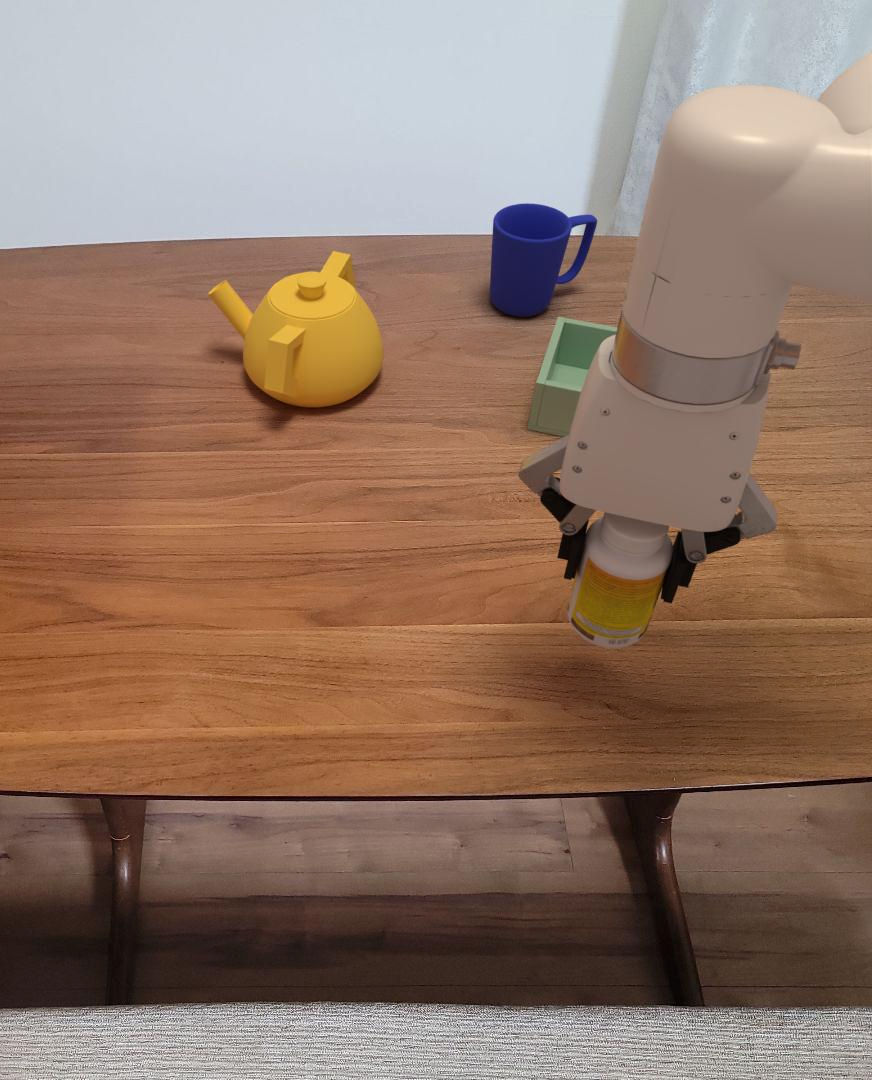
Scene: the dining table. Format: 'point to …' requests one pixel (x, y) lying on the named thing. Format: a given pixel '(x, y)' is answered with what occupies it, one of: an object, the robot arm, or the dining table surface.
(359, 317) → the teapot
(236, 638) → the dining table surface
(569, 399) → the bin
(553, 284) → the mug
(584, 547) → the supplement bottle
